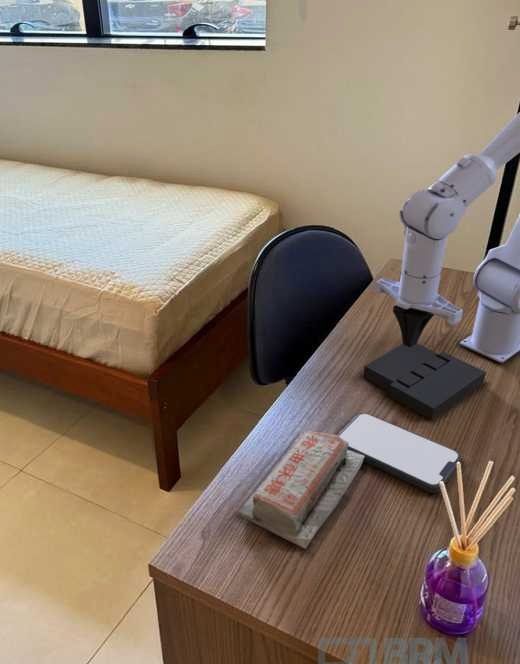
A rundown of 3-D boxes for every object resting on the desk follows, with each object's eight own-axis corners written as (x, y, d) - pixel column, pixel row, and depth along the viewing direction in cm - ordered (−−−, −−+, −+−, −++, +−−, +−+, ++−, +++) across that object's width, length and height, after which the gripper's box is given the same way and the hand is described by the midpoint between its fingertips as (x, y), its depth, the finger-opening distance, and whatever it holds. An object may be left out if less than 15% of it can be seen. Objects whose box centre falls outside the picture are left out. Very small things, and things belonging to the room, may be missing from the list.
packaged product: (308, 526, 72) (237, 492, 78) (306, 552, 75) (238, 518, 80) (367, 438, 84) (302, 413, 89) (364, 463, 87) (301, 438, 92)
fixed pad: (440, 362, 106) (442, 351, 104) (483, 383, 100) (486, 371, 99) (388, 396, 99) (390, 384, 98) (431, 420, 93) (433, 408, 92)
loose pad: (407, 350, 109) (409, 339, 108) (448, 370, 103) (451, 359, 102) (363, 377, 104) (364, 365, 102) (404, 400, 98) (406, 388, 96)
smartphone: (330, 448, 90) (436, 499, 80) (330, 440, 89) (438, 490, 80) (360, 417, 95) (463, 461, 86) (361, 409, 95) (465, 453, 85)
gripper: (366, 263, 96) (359, 334, 104) (447, 295, 86) (433, 372, 93) (394, 249, 100) (385, 320, 107) (476, 279, 89) (460, 354, 97)
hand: (410, 343), depth 100 cm, fingers closed
